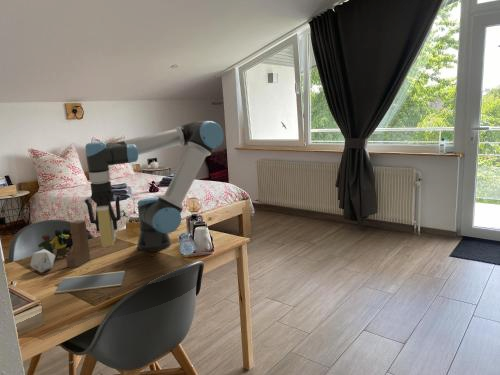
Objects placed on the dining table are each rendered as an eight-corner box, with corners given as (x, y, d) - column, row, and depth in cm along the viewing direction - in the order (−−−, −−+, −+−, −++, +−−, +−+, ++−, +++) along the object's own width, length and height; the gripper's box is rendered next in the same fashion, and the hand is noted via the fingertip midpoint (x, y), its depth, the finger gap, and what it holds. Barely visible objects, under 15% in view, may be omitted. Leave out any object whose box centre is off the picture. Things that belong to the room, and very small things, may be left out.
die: (27, 276, 159) (35, 259, 155) (28, 259, 165) (35, 243, 161) (50, 277, 164) (58, 261, 160) (49, 261, 170) (57, 245, 166)
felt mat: (125, 272, 157) (124, 270, 157) (121, 286, 145) (121, 284, 145) (63, 279, 153) (63, 277, 153) (54, 294, 140) (54, 292, 140)
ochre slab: (115, 239, 165) (110, 202, 161) (112, 245, 157) (107, 206, 154) (105, 240, 164) (100, 203, 161) (102, 247, 156) (96, 208, 153)
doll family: (80, 244, 193) (76, 217, 191) (94, 246, 190) (90, 219, 187) (39, 261, 173) (34, 232, 170) (53, 263, 169) (49, 234, 166)
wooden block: (75, 268, 163) (69, 226, 160) (67, 266, 165) (61, 225, 161) (90, 259, 172) (85, 220, 168) (82, 259, 173) (77, 219, 170)
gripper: (123, 178, 160) (130, 232, 165) (79, 182, 157) (88, 237, 162) (121, 181, 153) (129, 238, 158) (75, 185, 150) (84, 243, 155)
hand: (108, 237), depth 160 cm, fingers closed on ochre slab, 4 cm apart
